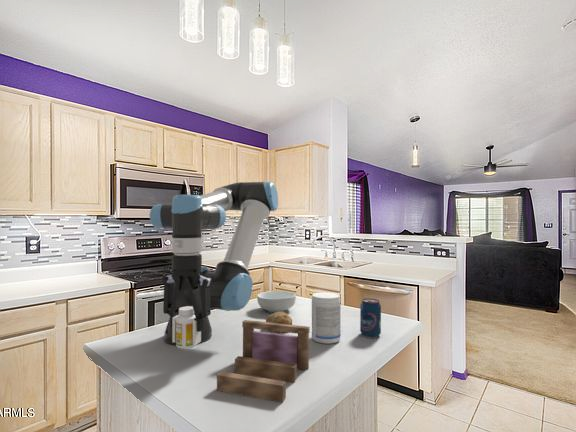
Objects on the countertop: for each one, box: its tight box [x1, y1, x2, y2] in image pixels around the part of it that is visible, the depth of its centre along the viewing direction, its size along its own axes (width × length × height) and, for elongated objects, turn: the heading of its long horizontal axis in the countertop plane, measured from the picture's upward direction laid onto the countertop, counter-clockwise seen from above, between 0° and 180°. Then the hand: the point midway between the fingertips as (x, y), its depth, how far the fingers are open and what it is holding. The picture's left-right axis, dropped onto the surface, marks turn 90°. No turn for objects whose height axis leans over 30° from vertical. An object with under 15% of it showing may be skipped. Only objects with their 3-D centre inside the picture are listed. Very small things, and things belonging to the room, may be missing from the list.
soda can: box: [359, 298, 382, 339], centre depth 113 cm, size 7×7×12 cm
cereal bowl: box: [256, 290, 297, 313], centre depth 143 cm, size 17×17×7 cm
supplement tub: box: [311, 292, 342, 345], centre depth 109 cm, size 10×10×15 cm
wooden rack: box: [216, 319, 311, 403], centre depth 82 cm, size 19×19×11 cm
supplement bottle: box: [175, 306, 196, 350], centre depth 86 cm, size 5×5×10 cm
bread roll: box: [265, 311, 293, 334], centre depth 119 cm, size 10×10×8 cm
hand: (186, 341), depth 86 cm, fingers closed on supplement bottle, 5 cm apart
